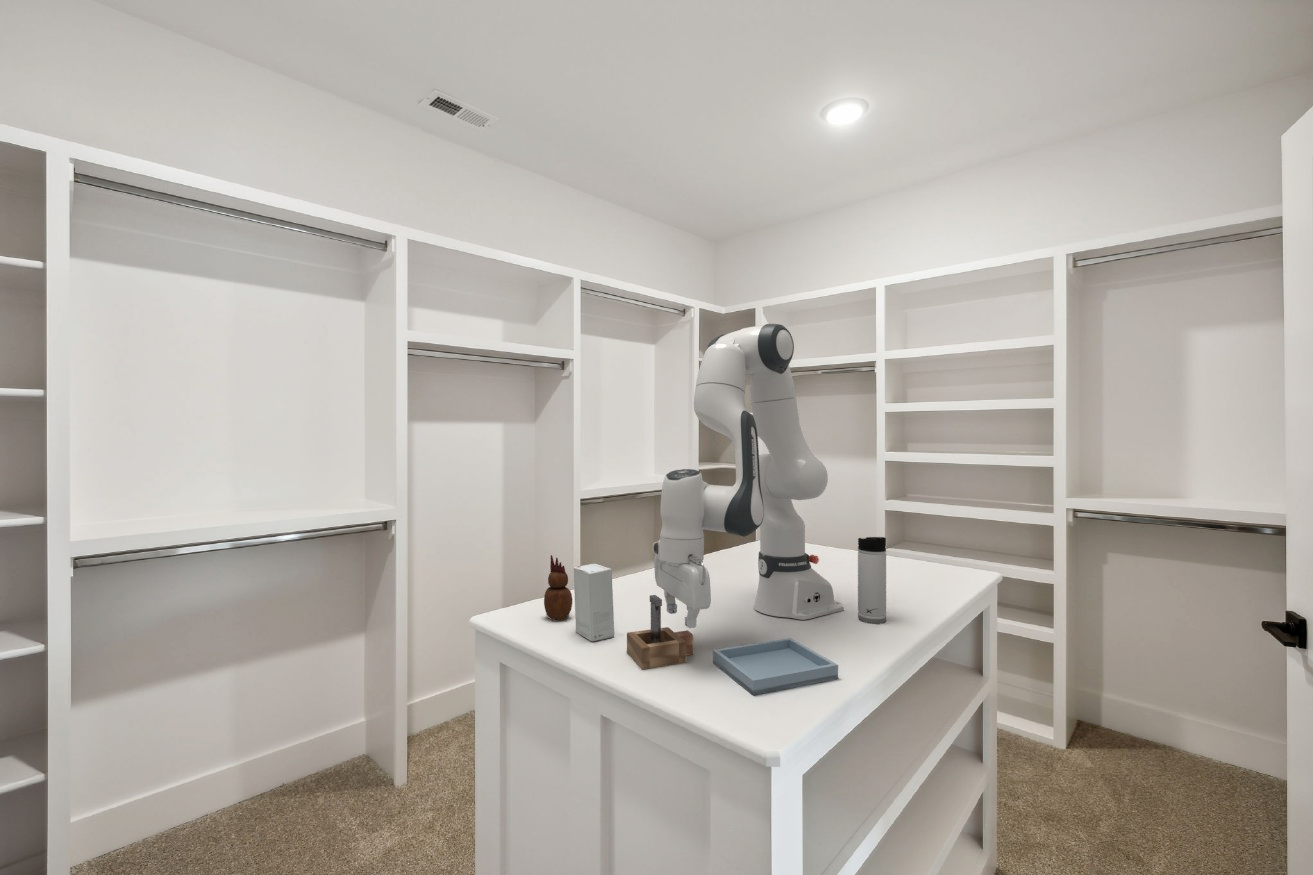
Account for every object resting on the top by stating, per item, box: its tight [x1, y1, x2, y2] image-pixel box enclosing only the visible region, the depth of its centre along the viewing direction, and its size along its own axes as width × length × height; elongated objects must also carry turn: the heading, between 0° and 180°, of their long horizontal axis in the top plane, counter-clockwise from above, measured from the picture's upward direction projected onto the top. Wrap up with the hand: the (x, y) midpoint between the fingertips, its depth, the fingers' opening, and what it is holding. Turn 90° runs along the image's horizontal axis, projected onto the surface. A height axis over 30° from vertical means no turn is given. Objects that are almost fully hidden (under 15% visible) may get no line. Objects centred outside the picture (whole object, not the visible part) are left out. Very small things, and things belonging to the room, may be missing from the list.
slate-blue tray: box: [712, 637, 839, 696], centre depth 105 cm, size 18×15×2 cm
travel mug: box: [857, 536, 887, 625], centre depth 133 cm, size 6×7×20 cm
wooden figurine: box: [543, 554, 573, 621], centre depth 135 cm, size 7×6×15 cm
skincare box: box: [573, 563, 615, 642], centre depth 124 cm, size 8×6×15 cm
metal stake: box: [649, 594, 663, 644], centre depth 111 cm, size 4×4×12 cm
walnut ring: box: [626, 626, 694, 670], centre depth 112 cm, size 12×9×4 cm
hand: (680, 619), depth 113 cm, fingers open, 8 cm apart
